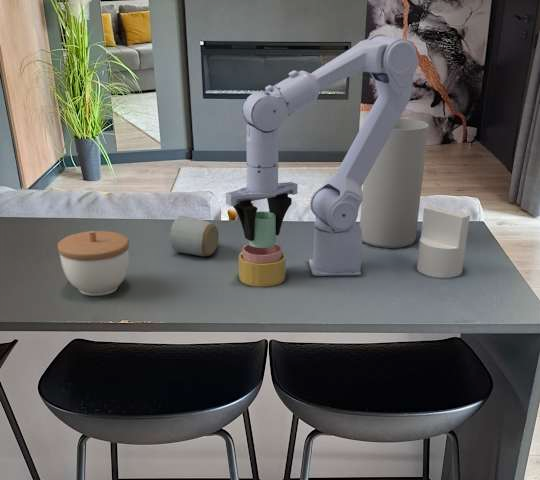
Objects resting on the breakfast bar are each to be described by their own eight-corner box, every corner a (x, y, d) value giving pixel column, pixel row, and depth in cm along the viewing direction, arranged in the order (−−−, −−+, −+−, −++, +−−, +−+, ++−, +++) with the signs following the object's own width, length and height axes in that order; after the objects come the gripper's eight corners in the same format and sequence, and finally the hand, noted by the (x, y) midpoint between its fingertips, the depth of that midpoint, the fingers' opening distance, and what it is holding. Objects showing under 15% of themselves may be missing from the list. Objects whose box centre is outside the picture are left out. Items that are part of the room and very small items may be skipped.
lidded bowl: (59, 280, 136) (51, 225, 131) (125, 271, 140) (119, 217, 135) (69, 306, 126) (60, 247, 121) (139, 296, 130) (134, 238, 125)
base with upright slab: (408, 269, 143) (414, 211, 137) (431, 257, 149) (438, 201, 143) (447, 281, 137) (455, 221, 132) (470, 269, 143) (479, 211, 137)
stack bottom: (283, 268, 143) (283, 247, 140) (286, 286, 135) (287, 264, 133) (238, 269, 142) (238, 248, 140) (239, 287, 134) (239, 264, 132)
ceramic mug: (205, 262, 145) (204, 225, 142) (170, 256, 148) (168, 220, 144) (227, 246, 154) (226, 212, 150) (193, 241, 156) (192, 207, 153)
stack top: (279, 270, 142) (280, 241, 139) (282, 285, 135) (283, 255, 132) (242, 270, 142) (242, 241, 139) (243, 285, 135) (243, 255, 132)
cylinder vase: (382, 252, 151) (393, 132, 139) (347, 235, 160) (355, 121, 148) (427, 243, 156) (441, 126, 144) (391, 227, 166) (402, 116, 154)
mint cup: (274, 238, 137) (274, 211, 135) (276, 247, 133) (276, 219, 130) (248, 239, 137) (248, 211, 134) (249, 248, 133) (248, 219, 130)
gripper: (283, 154, 134) (282, 224, 141) (216, 164, 127) (218, 237, 134) (305, 162, 129) (302, 234, 136) (236, 173, 122) (237, 248, 129)
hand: (262, 236), depth 134 cm, fingers closed on mint cup, 5 cm apart
